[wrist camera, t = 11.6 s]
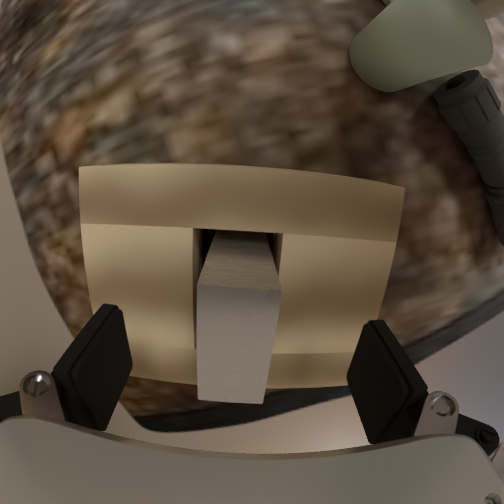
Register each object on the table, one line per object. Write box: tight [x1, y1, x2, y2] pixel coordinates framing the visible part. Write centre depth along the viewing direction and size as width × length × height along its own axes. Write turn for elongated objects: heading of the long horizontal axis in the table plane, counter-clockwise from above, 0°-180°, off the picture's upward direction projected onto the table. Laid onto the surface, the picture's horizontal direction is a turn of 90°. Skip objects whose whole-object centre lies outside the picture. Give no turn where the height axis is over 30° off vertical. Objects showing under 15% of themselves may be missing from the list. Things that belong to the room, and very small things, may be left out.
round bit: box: [349, 0, 493, 92], centre depth 11 cm, size 5×5×9 cm
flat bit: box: [197, 229, 282, 404], centre depth 15 cm, size 6×3×9 cm, turn 175°
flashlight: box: [434, 70, 504, 249], centre depth 15 cm, size 15×5×5 cm, turn 44°
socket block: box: [79, 163, 405, 388], centre depth 17 cm, size 14×18×4 cm
